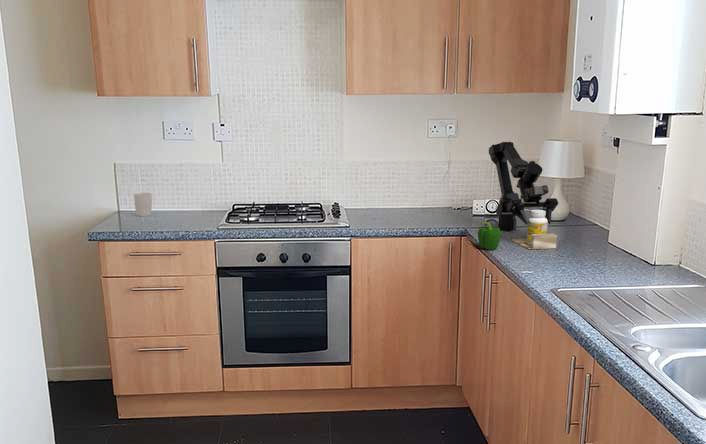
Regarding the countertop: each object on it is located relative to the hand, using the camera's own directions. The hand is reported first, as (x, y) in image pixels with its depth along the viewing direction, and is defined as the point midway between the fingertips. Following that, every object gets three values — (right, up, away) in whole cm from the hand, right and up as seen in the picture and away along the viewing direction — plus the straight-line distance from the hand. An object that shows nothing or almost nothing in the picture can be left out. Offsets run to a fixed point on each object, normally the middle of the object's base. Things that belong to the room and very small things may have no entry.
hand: (538, 223), depth 231 cm
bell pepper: (-20, -10, -3) cm, 22 cm away
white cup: (-169, +4, +56) cm, 178 cm away
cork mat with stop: (0, -8, +3) cm, 9 cm away
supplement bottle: (0, -8, +2) cm, 8 cm away
